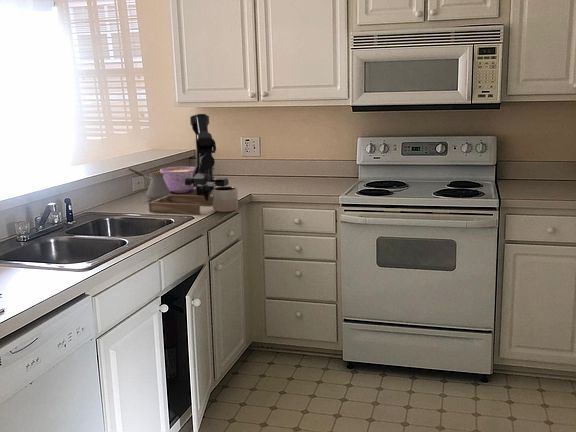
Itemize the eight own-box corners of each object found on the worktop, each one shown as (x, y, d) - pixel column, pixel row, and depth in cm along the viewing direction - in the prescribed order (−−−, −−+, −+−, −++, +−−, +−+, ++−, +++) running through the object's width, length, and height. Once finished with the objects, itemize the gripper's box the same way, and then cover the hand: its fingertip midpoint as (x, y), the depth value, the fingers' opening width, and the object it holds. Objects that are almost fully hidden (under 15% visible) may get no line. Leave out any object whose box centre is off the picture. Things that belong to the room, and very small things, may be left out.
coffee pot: (175, 198, 306) (173, 167, 303) (164, 202, 295) (162, 170, 292) (135, 196, 312) (133, 166, 309) (123, 201, 301) (121, 169, 298)
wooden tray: (170, 203, 294) (169, 194, 293) (217, 205, 288) (216, 196, 287) (149, 211, 275) (148, 202, 275) (199, 214, 269) (198, 204, 268)
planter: (225, 206, 283) (224, 185, 281) (243, 209, 277) (242, 187, 275) (207, 210, 275) (207, 188, 273) (225, 213, 268) (225, 191, 266)
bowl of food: (203, 193, 318) (202, 170, 316) (163, 196, 313) (162, 172, 310) (197, 187, 337) (196, 165, 335) (159, 189, 331) (157, 167, 329)
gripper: (177, 167, 269) (179, 203, 273) (218, 168, 264) (219, 205, 267) (189, 164, 280) (190, 198, 283) (228, 165, 274) (229, 200, 278)
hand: (207, 201), depth 277 cm, fingers closed
